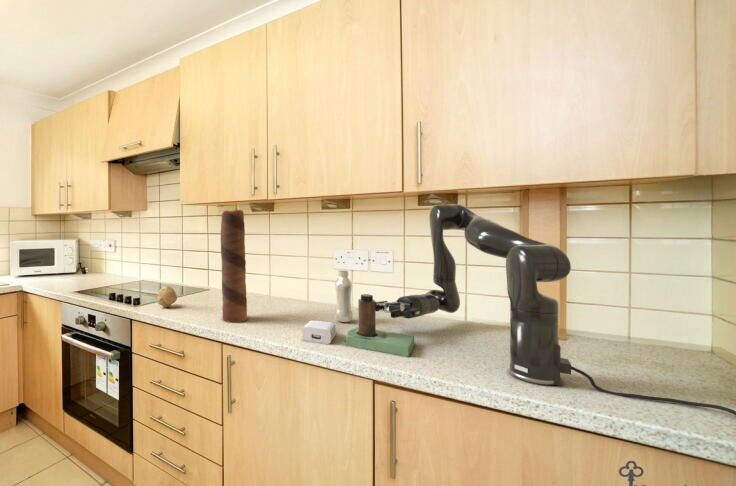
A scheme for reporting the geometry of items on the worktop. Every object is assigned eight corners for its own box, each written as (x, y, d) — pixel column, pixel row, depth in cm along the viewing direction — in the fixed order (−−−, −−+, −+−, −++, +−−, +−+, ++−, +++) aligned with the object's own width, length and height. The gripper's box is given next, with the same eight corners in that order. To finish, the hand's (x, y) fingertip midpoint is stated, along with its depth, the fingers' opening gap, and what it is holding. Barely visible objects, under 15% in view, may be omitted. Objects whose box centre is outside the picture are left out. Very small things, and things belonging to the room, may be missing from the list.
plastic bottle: (340, 324, 139) (340, 272, 139) (332, 319, 146) (331, 270, 145) (356, 323, 140) (355, 271, 140) (346, 318, 147) (346, 269, 146)
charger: (339, 331, 130) (330, 344, 117) (313, 328, 134) (302, 340, 121) (338, 318, 130) (330, 329, 117) (313, 315, 134) (302, 326, 121)
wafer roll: (223, 324, 142) (221, 209, 141) (220, 317, 152) (218, 210, 151) (249, 322, 143) (248, 209, 142) (244, 315, 154) (243, 210, 153)
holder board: (414, 345, 115) (414, 335, 115) (408, 357, 105) (408, 346, 105) (353, 334, 126) (353, 326, 126) (342, 344, 116) (342, 335, 116)
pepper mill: (377, 342, 118) (377, 294, 118) (373, 346, 114) (373, 297, 114) (361, 339, 121) (360, 293, 121) (356, 343, 117) (356, 295, 117)
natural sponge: (180, 305, 174) (180, 285, 173) (171, 310, 165) (170, 288, 165) (164, 304, 177) (164, 284, 177) (154, 308, 169) (153, 287, 169)
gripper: (395, 292, 134) (363, 296, 127) (432, 299, 121) (399, 304, 114) (396, 312, 134) (364, 317, 127) (432, 321, 121) (399, 328, 114)
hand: (380, 311), depth 120 cm, fingers open, 8 cm apart
